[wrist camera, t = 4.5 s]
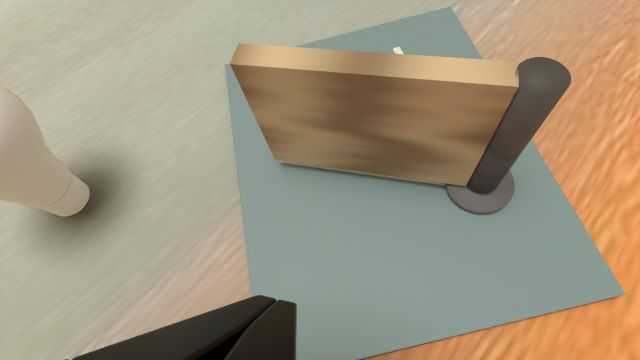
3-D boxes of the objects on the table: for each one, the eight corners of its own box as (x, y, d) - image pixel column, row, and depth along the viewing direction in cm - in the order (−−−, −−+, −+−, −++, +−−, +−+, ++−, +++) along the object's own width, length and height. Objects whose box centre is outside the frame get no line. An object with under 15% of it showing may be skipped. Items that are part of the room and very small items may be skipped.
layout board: (620, 295, 17) (633, 292, 17) (264, 382, 18) (258, 383, 17) (449, 11, 28) (451, -1, 27) (226, 68, 28) (222, 58, 27)
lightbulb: (110, 149, 26) (-47, 20, 16) (135, 214, 23) (-36, 104, 13) (29, 194, 25) (-190, 85, 15) (44, 266, 22) (-210, 190, 12)
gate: (499, 166, 20) (569, 58, 13) (498, 195, 19) (572, 97, 12) (281, 139, 23) (241, 38, 16) (273, 164, 22) (227, 69, 15)
